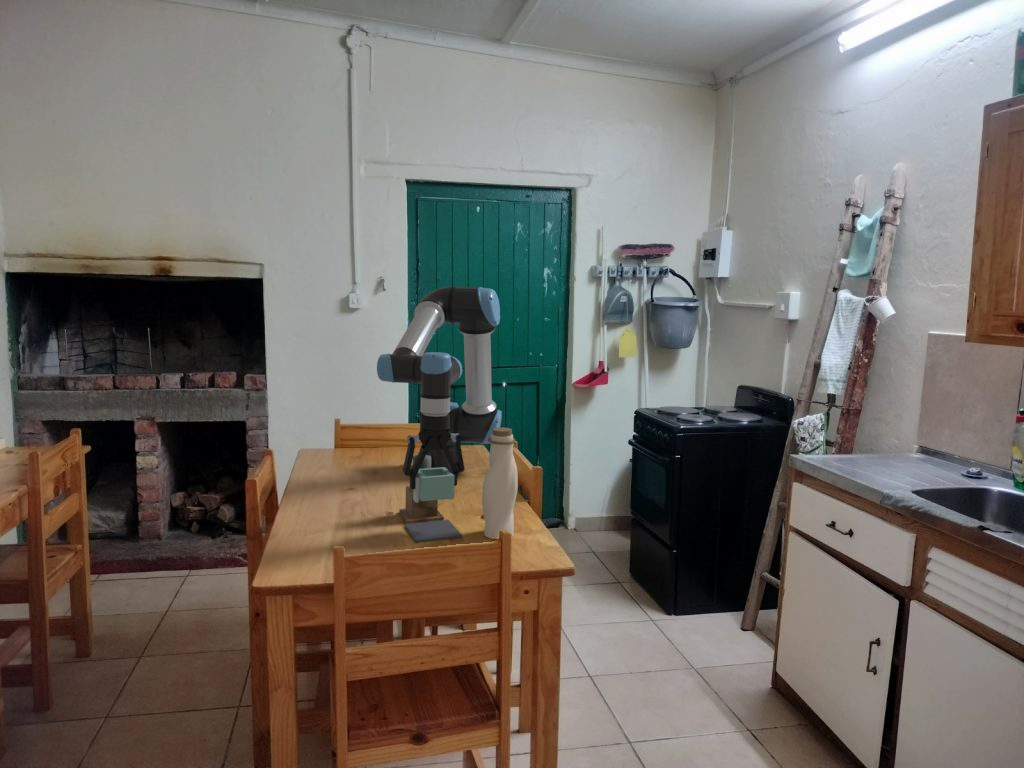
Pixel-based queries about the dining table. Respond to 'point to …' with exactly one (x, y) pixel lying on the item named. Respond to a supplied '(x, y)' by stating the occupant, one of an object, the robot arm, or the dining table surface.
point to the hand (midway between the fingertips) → (433, 499)
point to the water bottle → (500, 484)
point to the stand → (420, 503)
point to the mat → (432, 531)
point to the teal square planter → (435, 484)
